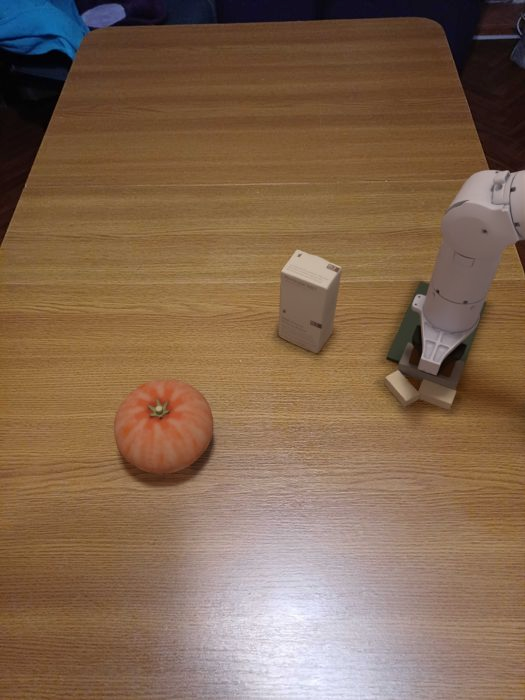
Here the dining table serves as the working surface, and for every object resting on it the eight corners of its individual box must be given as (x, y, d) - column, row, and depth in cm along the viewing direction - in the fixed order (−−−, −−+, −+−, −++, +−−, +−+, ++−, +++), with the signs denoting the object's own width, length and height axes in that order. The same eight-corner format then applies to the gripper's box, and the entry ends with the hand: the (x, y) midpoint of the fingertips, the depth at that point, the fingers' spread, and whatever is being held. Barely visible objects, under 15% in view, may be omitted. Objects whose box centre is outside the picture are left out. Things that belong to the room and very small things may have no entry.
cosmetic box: (277, 337, 79) (276, 271, 69) (293, 314, 81) (295, 246, 72) (320, 356, 77) (325, 290, 67) (335, 331, 79) (343, 264, 70)
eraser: (461, 371, 74) (470, 349, 71) (453, 393, 73) (462, 371, 69) (405, 351, 76) (411, 329, 73) (396, 372, 75) (402, 350, 71)
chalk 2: (453, 397, 73) (456, 390, 72) (449, 410, 72) (451, 403, 71) (421, 385, 74) (423, 378, 73) (416, 397, 73) (418, 391, 72)
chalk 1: (417, 399, 73) (419, 393, 72) (404, 407, 72) (406, 401, 71) (396, 376, 75) (398, 369, 74) (383, 383, 74) (385, 376, 73)
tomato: (102, 442, 70) (84, 406, 64) (175, 386, 75) (165, 347, 68) (162, 506, 66) (149, 473, 59) (236, 442, 70) (231, 405, 64)
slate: (485, 304, 81) (486, 301, 81) (457, 384, 74) (458, 382, 74) (419, 283, 84) (420, 280, 83) (385, 359, 76) (386, 356, 76)
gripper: (441, 226, 67) (419, 308, 78) (398, 320, 59) (380, 396, 70) (507, 245, 65) (474, 326, 76) (471, 345, 57) (441, 419, 68)
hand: (433, 361), depth 73 cm, fingers closed on eraser, 2 cm apart
